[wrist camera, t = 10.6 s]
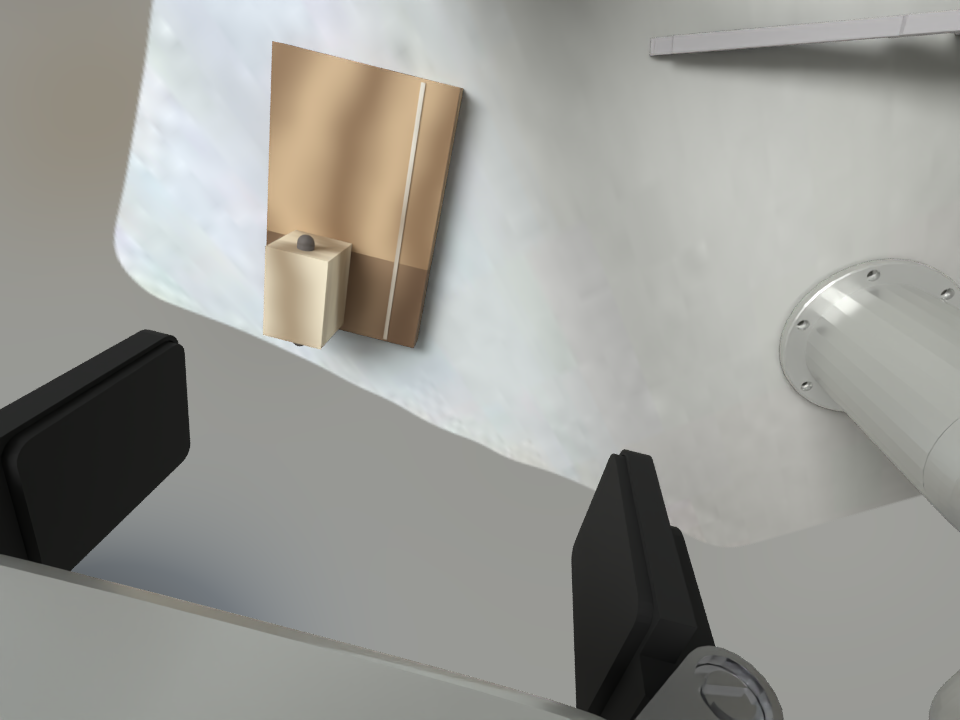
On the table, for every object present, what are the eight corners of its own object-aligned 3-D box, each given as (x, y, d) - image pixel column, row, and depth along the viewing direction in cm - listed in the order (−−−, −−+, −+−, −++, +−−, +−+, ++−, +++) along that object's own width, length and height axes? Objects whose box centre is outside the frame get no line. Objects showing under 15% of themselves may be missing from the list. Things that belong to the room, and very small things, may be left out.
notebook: (463, 88, 36) (459, 88, 35) (417, 340, 46) (413, 348, 44) (282, 43, 36) (271, 41, 35) (272, 304, 46) (264, 311, 44)
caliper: (1000, 11, 32) (1097, -7, 26) (993, 32, 32) (1087, 19, 26) (649, 38, 34) (670, 27, 29) (648, 57, 35) (667, 50, 29)
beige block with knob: (353, 231, 40) (329, 247, 36) (342, 334, 45) (319, 360, 40) (296, 217, 40) (265, 232, 36) (291, 321, 45) (262, 346, 40)
